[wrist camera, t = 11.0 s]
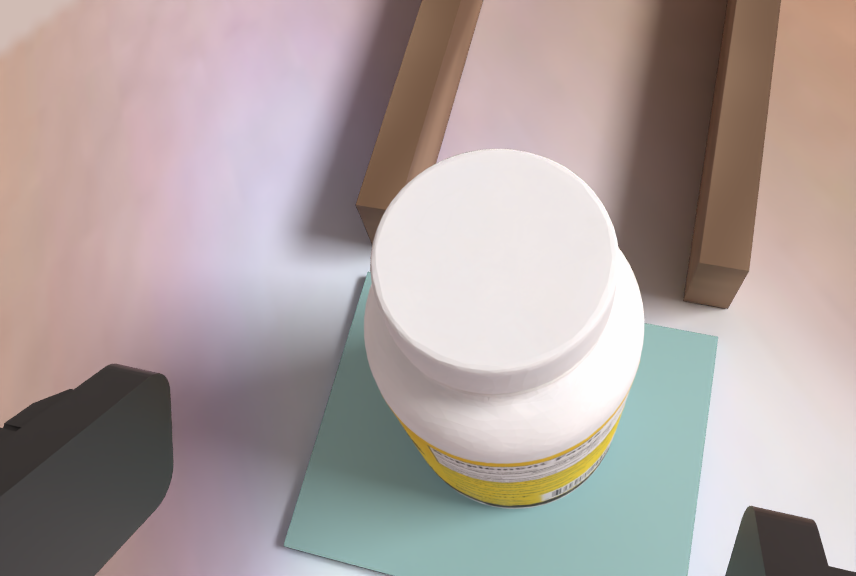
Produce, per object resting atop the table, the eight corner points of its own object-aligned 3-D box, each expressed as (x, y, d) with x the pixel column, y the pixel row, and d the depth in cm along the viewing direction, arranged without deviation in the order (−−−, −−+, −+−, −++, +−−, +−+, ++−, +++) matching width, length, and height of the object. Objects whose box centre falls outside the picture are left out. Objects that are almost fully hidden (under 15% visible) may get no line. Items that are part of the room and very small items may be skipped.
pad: (286, 547, 21) (283, 546, 21) (369, 275, 24) (367, 271, 24) (675, 651, 19) (677, 651, 19) (716, 340, 22) (718, 336, 22)
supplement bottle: (424, 310, 23) (355, 103, 14) (617, 323, 22) (674, 112, 13) (399, 502, 21) (300, 401, 12) (611, 525, 20) (672, 434, 11)
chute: (372, 245, 25) (355, 204, 22) (488, -130, 30) (484, -193, 28) (728, 308, 22) (748, 270, 20) (780, -109, 28) (801, -175, 26)
